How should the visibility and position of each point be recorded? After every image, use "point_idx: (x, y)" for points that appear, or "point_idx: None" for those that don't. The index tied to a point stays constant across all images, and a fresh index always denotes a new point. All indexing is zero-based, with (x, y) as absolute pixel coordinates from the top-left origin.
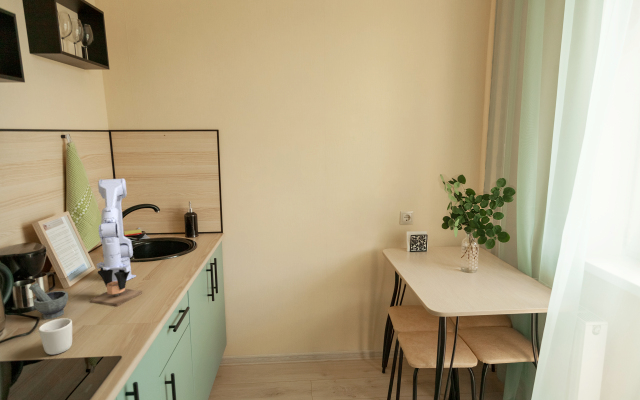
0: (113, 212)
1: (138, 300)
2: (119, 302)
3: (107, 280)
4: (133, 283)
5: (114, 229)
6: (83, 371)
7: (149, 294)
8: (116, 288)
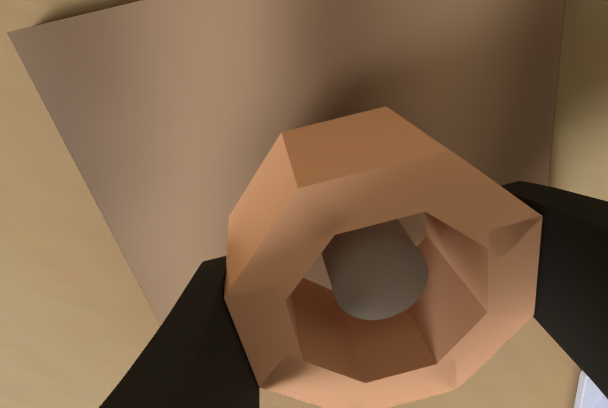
0: None
1: (25, 271)
2: (38, 84)
3: (599, 278)
4: (478, 404)
5: None
6: None
7: (103, 387)
8: (250, 232)
